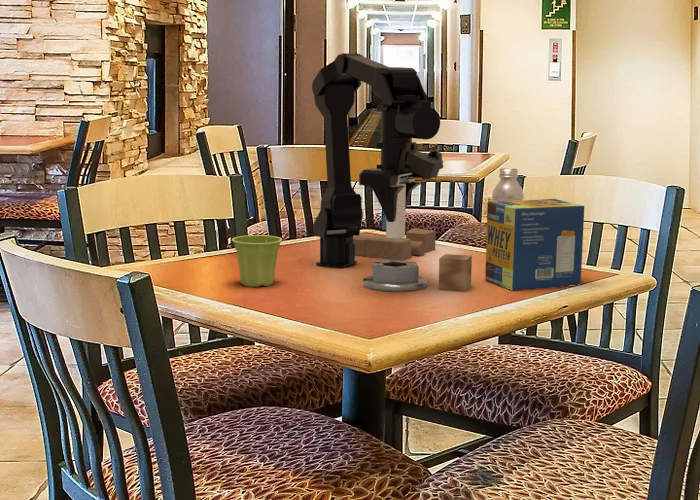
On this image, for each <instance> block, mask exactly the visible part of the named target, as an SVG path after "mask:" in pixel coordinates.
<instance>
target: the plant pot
mask: <svg viewBox="0 0 700 500" xmlns="http://www.w3.org/2000/svg"><path fill="white" fill-rule="evenodd" d="M231 241H232V242H233V244H234V249H235V250H236V257H237V263H238V269H239V278H240V283H241V284H243V285H242V286H246V287H253V288H256V287H257V288H258V287H260V286H265V287H269V286H272V285H273V284H274V281H275V274H276V273H275V272H276V265H277V258H278V251H279V249H280V247H281V246H280V245H281V242H282V241H283V238H282V237H279V236H275V235H267V234H266V235H265V234H260V235H258V234H254V235H252V234H251V235H240V236H235V237H232V239H231Z"/></svg>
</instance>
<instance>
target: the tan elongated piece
mask: <svg viewBox="0 0 700 500" xmlns="http://www.w3.org/2000/svg"><path fill="white" fill-rule="evenodd" d="M399 185H401V186H405V187H404V188H403V189H402V190H401V191H400V192H399V193H398V196H397V204H396V212H395V218H394V222H388V221H387V218H386V217H385V219H386V220H385V221H386V223H385V224H386V225H385V237H387V238H406V210H405V199H406V184H405V183H399Z"/></svg>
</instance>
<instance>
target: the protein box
mask: <svg viewBox="0 0 700 500" xmlns="http://www.w3.org/2000/svg"><path fill="white" fill-rule="evenodd" d="M486 210H487V211H486V239H485V240H486V245H485V246H486V247H485V273H484V274H485V280H484V281H486V282H488V283H491V284H493V283H494V285H496V284H497V285H496V286H498V285H499V286H500V287H501V286H502V287H501V288H503V287H505V288H504V289H506V288H507V289H506V290H508V289H510V290H509V291H511V290H516V291H523V290H522V289H530V290H537V289H536V288H543V289H551V288H550V287H556V288H562V287H561V286H569V285H578V284H581V285H582V266H583V265H582V263H583V246H584V245H583V243H584V224H585V222H584V220H585V205H583V204H577V203H574V202H570V201H566V200H561V199H556V198H546V199H545V198H544V199H523V200H521V201H499V202H493V201H487V207H486ZM499 286H498V287H499ZM569 287H570V286H569Z"/></svg>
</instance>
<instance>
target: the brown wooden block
mask: <svg viewBox="0 0 700 500" xmlns="http://www.w3.org/2000/svg"><path fill="white" fill-rule="evenodd" d="M472 257H473V255H466V254H453V253H452V254H451V253H450V254H448V253H445V254H444V255H442V256H441V257H439V258H438V259H439V260H438V263H439V264H438V291H444V292H445V291H446V292H461V293H466V292H468V290H470V288H471V287H472V267H473V266H472V264H473V263H472V262H473V261H472V260H473V259H472Z"/></svg>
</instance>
